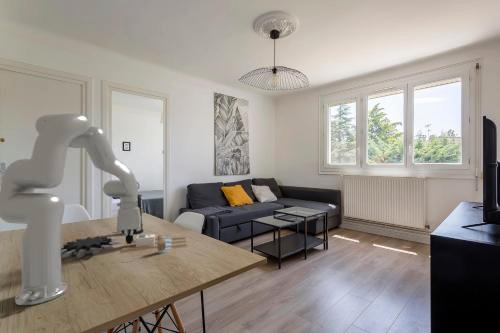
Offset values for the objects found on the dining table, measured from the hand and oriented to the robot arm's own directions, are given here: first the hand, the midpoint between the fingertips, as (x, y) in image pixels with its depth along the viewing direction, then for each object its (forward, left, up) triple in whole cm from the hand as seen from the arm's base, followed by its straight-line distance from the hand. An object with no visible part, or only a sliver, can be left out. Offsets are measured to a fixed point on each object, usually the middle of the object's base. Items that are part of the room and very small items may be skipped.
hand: (129, 243), depth 121 cm
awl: (-14, -15, -3) cm, 21 cm away
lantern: (+30, +2, -3) cm, 30 cm away
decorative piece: (+5, +19, -3) cm, 20 cm away
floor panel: (0, -12, -3) cm, 12 cm away
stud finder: (0, -7, -1) cm, 7 cm away
